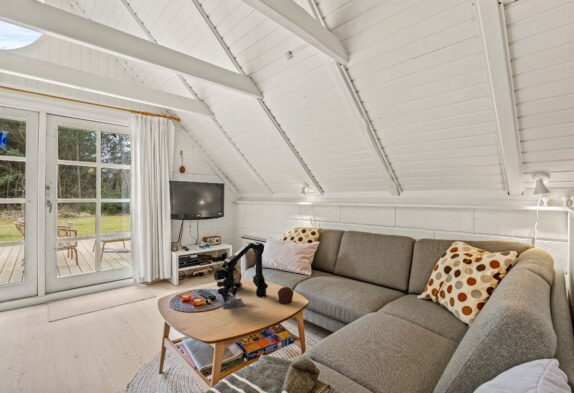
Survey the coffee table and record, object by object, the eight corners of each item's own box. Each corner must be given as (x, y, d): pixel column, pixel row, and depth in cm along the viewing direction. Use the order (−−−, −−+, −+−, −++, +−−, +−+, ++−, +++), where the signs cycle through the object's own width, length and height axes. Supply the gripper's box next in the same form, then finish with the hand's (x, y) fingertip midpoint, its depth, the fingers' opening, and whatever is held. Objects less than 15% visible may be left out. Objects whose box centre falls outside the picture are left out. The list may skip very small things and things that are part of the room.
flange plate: (240, 299, 205) (240, 292, 205) (244, 306, 193) (244, 298, 193) (220, 302, 200) (220, 295, 200) (223, 309, 189) (223, 301, 188)
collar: (235, 302, 197) (235, 295, 197) (230, 305, 192) (230, 298, 192) (228, 300, 200) (228, 293, 200) (223, 304, 194) (223, 296, 194)
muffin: (283, 297, 209) (283, 284, 209) (296, 301, 203) (296, 287, 203) (274, 302, 199) (274, 288, 199) (287, 306, 193) (287, 291, 193)
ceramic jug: (232, 294, 215) (232, 275, 215) (218, 290, 223) (218, 272, 223) (248, 287, 230) (248, 270, 230) (235, 284, 238) (235, 267, 238)
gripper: (228, 272, 207) (228, 294, 208) (211, 279, 190) (211, 303, 191) (241, 274, 203) (241, 296, 203) (224, 282, 186) (224, 306, 186)
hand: (229, 300), depth 196 cm, fingers open, 9 cm apart
